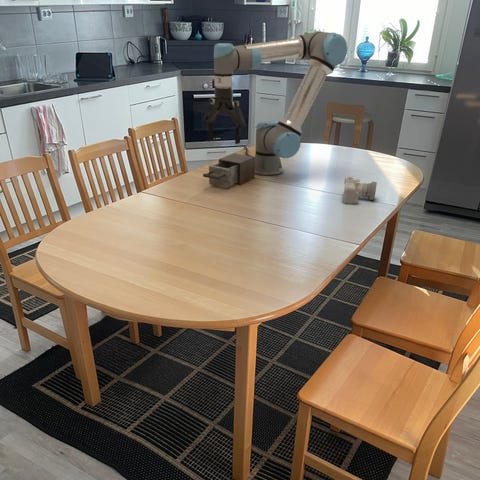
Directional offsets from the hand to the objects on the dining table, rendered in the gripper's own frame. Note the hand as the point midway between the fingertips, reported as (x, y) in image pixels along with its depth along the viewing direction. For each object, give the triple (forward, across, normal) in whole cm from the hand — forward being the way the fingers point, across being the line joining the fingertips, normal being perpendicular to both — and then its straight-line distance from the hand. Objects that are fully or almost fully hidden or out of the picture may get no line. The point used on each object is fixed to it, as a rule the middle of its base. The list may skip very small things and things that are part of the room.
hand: (224, 141), depth 211 cm
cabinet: (+19, 0, +11) cm, 22 cm away
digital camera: (+20, +57, +17) cm, 62 cm away
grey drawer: (+18, 0, -1) cm, 18 cm away
